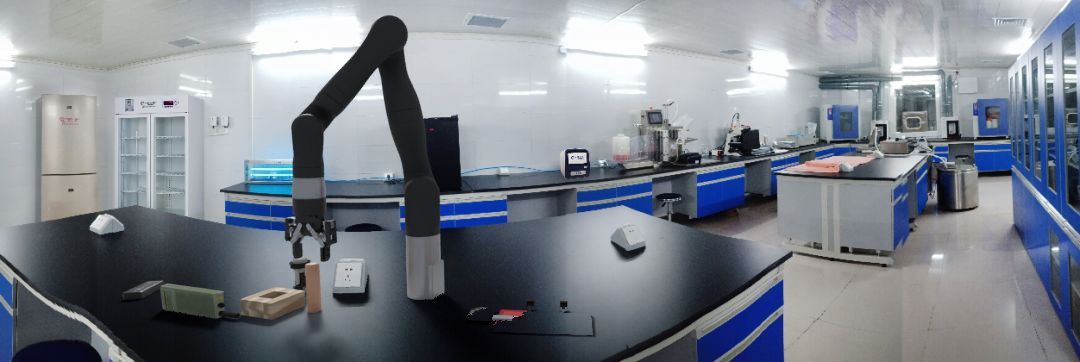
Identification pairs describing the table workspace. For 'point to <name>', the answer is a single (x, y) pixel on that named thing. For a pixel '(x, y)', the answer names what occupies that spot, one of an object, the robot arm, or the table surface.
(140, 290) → the multiport hub
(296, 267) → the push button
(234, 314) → the handheld radio
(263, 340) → the table surface
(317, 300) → the peg
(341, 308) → the table surface
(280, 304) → the socket block
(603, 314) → the table surface
